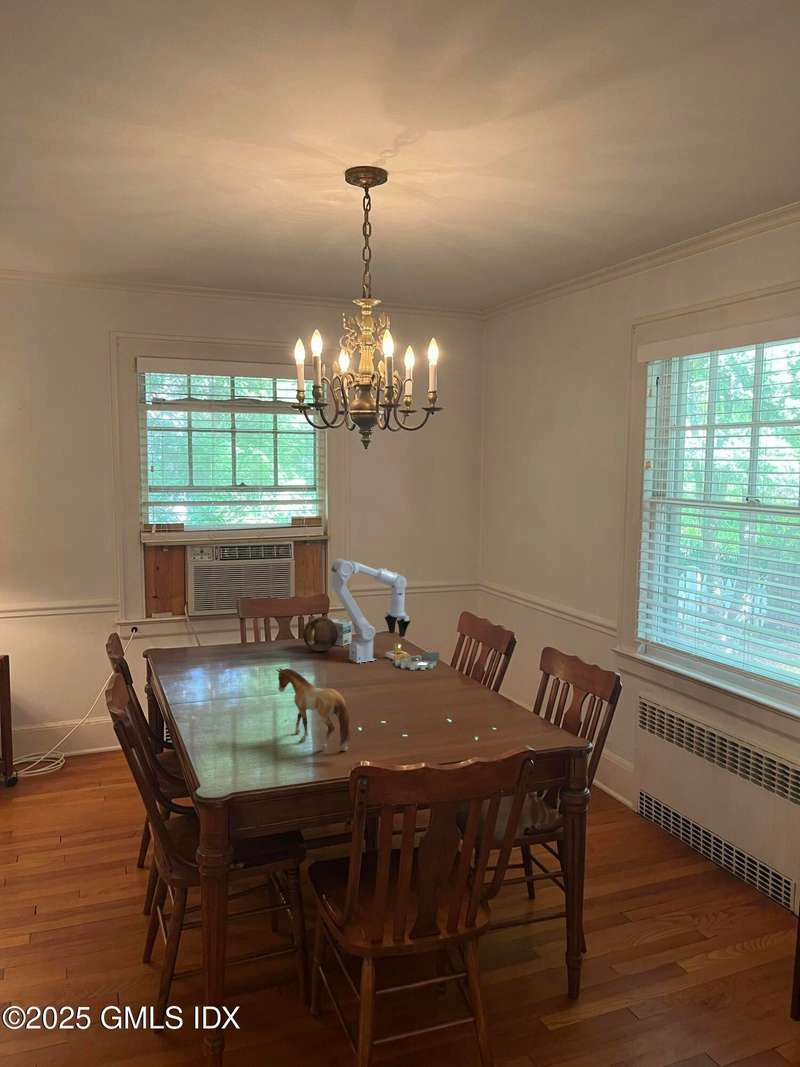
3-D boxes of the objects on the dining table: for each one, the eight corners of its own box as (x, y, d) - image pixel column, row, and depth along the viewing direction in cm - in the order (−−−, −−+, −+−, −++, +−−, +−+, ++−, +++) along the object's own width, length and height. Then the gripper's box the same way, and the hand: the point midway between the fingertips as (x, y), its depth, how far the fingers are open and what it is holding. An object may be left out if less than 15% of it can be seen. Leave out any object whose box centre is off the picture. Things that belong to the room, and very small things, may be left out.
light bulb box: (352, 644, 343) (352, 621, 342) (343, 647, 338) (343, 623, 337) (333, 641, 349) (333, 618, 348) (324, 644, 343) (324, 620, 342)
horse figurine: (274, 734, 228) (274, 667, 226) (294, 728, 234) (294, 662, 232) (344, 763, 207) (345, 690, 205) (364, 756, 213) (365, 684, 211)
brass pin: (396, 659, 319) (396, 645, 318) (392, 657, 321) (392, 643, 321) (402, 658, 321) (402, 644, 320) (398, 656, 323) (398, 642, 323)
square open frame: (394, 660, 316) (395, 655, 316) (385, 657, 322) (385, 652, 321) (408, 658, 320) (408, 653, 320) (399, 655, 326) (399, 650, 326)
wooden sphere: (325, 645, 341) (325, 612, 339) (344, 652, 329) (345, 618, 328) (296, 649, 331) (296, 616, 330) (315, 657, 320) (315, 622, 318)
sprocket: (441, 669, 303) (441, 658, 302) (397, 670, 301) (397, 658, 301) (435, 659, 319) (435, 647, 319) (393, 659, 317) (393, 648, 317)
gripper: (415, 605, 315) (414, 637, 317) (395, 599, 327) (395, 630, 329) (401, 606, 311) (400, 639, 313) (382, 600, 323) (381, 632, 325)
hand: (396, 634), depth 320 cm, fingers open, 7 cm apart
